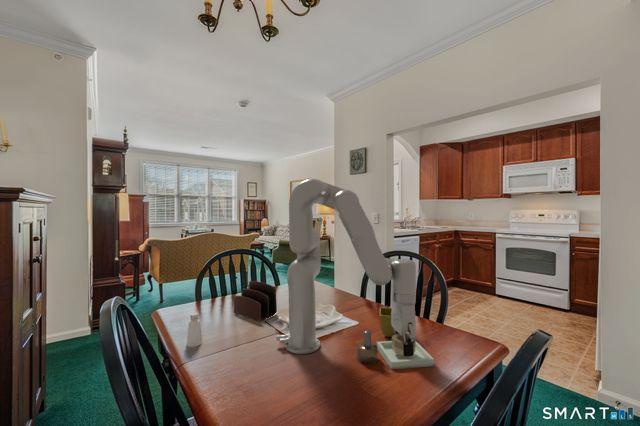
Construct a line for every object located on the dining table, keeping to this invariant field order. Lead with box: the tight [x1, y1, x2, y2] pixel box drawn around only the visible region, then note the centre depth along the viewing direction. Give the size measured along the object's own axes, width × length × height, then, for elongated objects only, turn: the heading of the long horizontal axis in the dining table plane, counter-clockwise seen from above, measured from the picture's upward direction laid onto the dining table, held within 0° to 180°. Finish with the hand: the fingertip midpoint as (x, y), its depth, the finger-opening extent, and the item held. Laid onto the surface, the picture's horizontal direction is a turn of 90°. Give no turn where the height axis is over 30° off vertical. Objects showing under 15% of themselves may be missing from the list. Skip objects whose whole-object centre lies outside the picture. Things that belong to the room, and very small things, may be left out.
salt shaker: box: [186, 312, 203, 348], centre depth 109 cm, size 5×5×11 cm
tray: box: [376, 340, 435, 370], centre depth 100 cm, size 14×14×2 cm
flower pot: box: [379, 307, 394, 338], centre depth 117 cm, size 9×9×9 cm
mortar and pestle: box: [356, 329, 379, 365], centre depth 98 cm, size 7×7×9 cm
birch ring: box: [391, 334, 415, 356], centre depth 100 cm, size 7×7×4 cm
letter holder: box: [233, 280, 278, 322], centre depth 140 cm, size 10×20×14 cm, turn 50°
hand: (403, 349), depth 100 cm, fingers closed on birch ring, 7 cm apart
